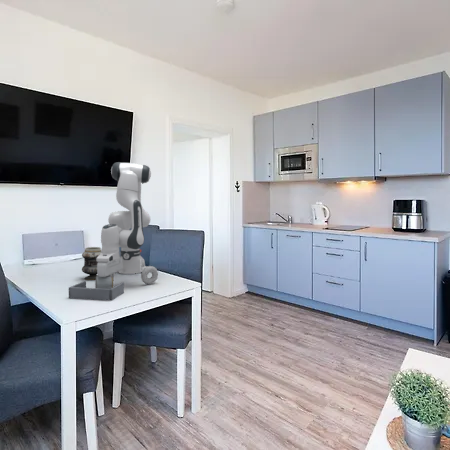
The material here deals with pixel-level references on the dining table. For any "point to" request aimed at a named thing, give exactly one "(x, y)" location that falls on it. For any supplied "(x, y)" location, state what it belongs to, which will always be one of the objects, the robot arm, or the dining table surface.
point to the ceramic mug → (104, 282)
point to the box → (95, 292)
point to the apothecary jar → (90, 262)
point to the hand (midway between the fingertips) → (110, 281)
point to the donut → (145, 273)
